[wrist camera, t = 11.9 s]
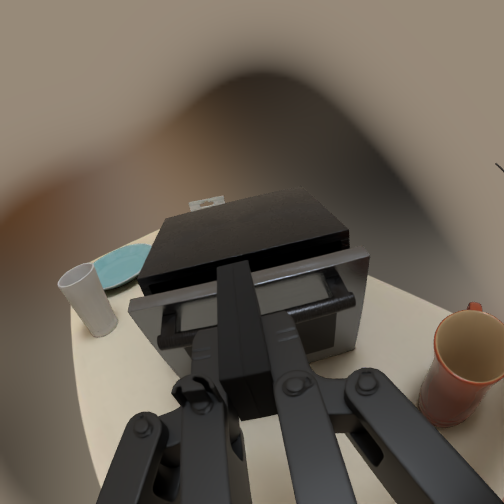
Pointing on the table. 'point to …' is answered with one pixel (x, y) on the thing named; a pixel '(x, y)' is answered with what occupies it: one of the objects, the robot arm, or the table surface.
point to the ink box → (196, 204)
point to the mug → (462, 366)
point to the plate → (121, 265)
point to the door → (266, 307)
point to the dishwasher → (240, 239)
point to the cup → (88, 299)
